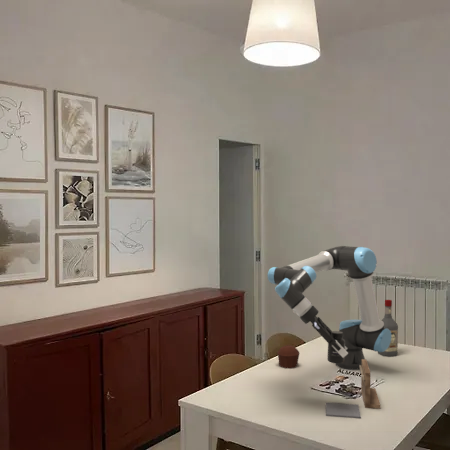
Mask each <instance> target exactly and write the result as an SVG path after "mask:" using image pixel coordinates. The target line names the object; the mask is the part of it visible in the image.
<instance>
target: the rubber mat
mask: <svg viewBox="0 0 450 450" xmlns="http://www.w3.org/2000/svg"><path fill="white" fill-rule="evenodd" d="M325 416H326V417H338V418H339V417H340V418H351V419H361V418H362V415H361V411H360V406H359V404H356V403H343V402H330V401H329V402H327V401H326V402H325Z"/></svg>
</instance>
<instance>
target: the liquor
mask: <svg viewBox="0 0 450 450" xmlns="http://www.w3.org/2000/svg"><path fill="white" fill-rule="evenodd" d="M392 307H393V301H392V299H384V316H383V318H382V319H381V320H382V321H383V322H384V326H385V329H389V330H390V331H391V342H390V345H389V347H388V348H387V350H385V351H384V352H378V351H377V354H378V355H380V356H382V357H388V358H390V357H397V355H398V351H399V349H398V346H399V343H398V342H399V341H398V339H399V325H398V323H397V322H396V321H395V319H394V317H393V316H392Z"/></svg>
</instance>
